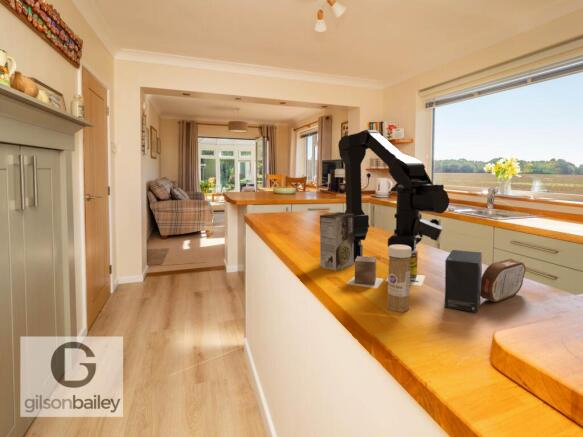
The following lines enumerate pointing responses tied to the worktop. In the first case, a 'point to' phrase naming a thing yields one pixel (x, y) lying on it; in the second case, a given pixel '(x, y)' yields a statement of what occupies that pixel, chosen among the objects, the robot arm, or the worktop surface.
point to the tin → (502, 280)
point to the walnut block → (365, 270)
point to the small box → (463, 280)
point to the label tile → (416, 280)
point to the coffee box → (336, 240)
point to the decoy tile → (377, 283)
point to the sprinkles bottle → (399, 277)
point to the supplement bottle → (413, 264)
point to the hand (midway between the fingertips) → (406, 267)
